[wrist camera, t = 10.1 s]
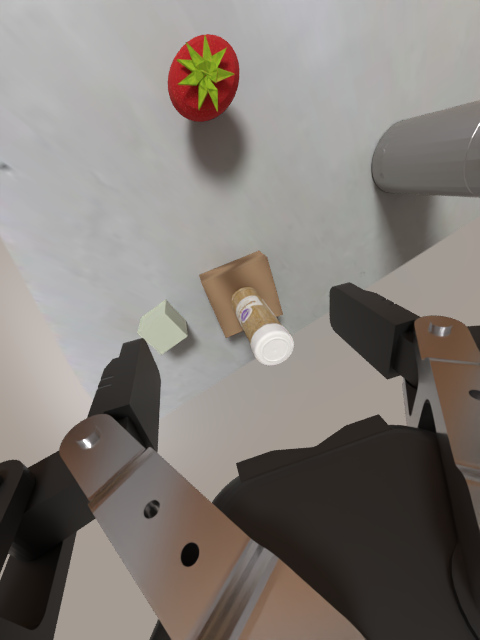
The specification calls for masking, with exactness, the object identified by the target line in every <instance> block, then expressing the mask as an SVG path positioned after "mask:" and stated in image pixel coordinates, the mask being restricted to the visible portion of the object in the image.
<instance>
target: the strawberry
mask: <svg viewBox="0 0 480 640" xmlns="http://www.w3.org/2000/svg"><path fill="white" fill-rule="evenodd" d="M238 82H239V63H238V59H237V56H236V53H235V52H234V50H233V48H232V47H231V46H230V44H229V43H228V42H227V41H225V40H224V39H222V38H221V37H218V36H216V35H209V34H207V35H200V36H198V37H195V38H193V39H191V40H190V41H188V42H186V44H185V45H184V46H183V47H182V48H181V49H180V51H179V52H178V54H177V55H176V57H175V58H174V60H173V62H172V65H171V67H170V71H169V75H168V92H169V96H170V99H171V101H172V103H173V106H174V107H175V108H176V110H177V111H178V112H179V113H180V114H181V115H182V116H183V117H185V118H187V119H189V120H192V121H199V122H203V121H208V120H211V119H214V118H216V117H217V116H219V115H220V114H222V113H223V112H224V111H225V110H226V109H227V108H228V106H229V105H230V104H231V102H232V100H233V98H234V96H235V94H236V91H237V88H238Z"/></svg>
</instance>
